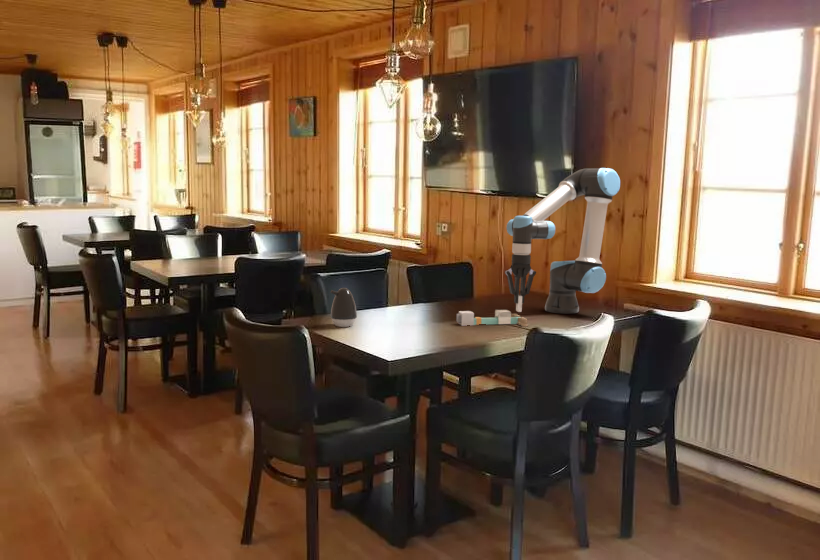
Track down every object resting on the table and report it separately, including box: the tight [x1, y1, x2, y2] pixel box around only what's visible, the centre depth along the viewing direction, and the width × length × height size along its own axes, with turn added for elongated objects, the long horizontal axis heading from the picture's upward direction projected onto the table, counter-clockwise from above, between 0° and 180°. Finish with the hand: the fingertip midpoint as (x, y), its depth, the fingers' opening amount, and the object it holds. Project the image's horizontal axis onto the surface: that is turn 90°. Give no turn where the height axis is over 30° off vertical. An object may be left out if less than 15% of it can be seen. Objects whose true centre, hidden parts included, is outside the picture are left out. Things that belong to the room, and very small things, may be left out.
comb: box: [511, 313, 529, 327], centre depth 292 cm, size 2×14×3 cm, turn 11°
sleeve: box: [494, 309, 512, 325], centre depth 290 cm, size 5×5×5 cm
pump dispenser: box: [330, 287, 358, 328], centre depth 279 cm, size 10×10×15 cm
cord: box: [456, 310, 518, 327], centre depth 289 cm, size 27×5×5 cm, turn 101°
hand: (518, 311), depth 291 cm, fingers closed
